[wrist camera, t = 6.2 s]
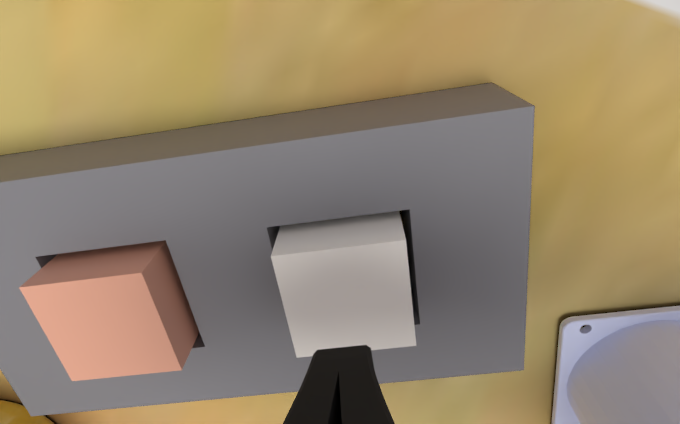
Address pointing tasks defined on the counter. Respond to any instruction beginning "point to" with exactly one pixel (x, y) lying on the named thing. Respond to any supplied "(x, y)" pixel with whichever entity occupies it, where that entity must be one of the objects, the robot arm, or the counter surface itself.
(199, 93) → the counter surface
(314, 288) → the white key
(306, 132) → the key panel
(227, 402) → the counter surface
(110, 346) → the terracotta key
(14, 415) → the plant pot
